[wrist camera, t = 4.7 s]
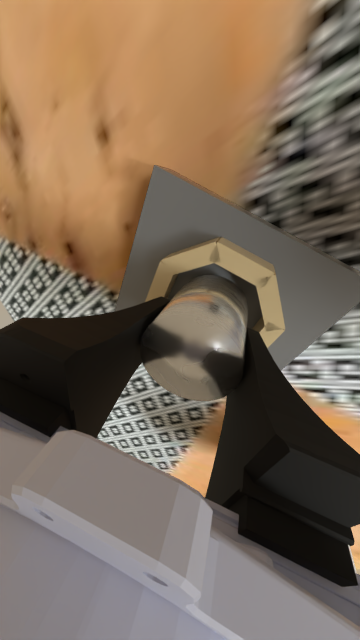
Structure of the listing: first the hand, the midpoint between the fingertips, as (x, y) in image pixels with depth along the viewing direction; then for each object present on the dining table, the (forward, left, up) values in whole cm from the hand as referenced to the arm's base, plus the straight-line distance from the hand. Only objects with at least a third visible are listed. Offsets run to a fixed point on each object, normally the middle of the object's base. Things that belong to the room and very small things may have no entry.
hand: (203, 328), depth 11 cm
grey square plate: (0, 0, -5) cm, 5 cm away
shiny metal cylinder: (0, 0, -2) cm, 2 cm away
